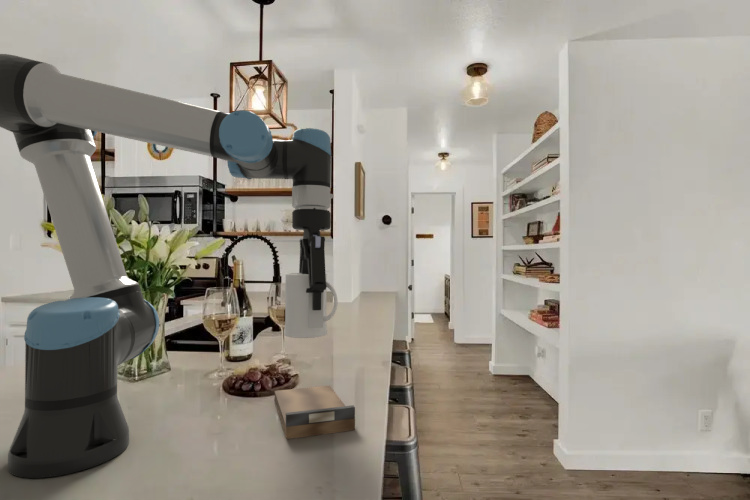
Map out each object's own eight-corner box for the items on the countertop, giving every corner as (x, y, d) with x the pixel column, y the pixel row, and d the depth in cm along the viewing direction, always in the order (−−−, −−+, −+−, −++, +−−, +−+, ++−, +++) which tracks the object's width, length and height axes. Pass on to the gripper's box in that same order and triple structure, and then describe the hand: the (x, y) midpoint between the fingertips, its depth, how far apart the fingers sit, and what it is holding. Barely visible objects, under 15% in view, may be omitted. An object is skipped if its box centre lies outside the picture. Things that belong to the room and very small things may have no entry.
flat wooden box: (286, 439, 71) (286, 415, 71) (274, 400, 90) (274, 381, 90) (355, 430, 75) (355, 407, 75) (329, 394, 94) (330, 376, 94)
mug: (348, 335, 83) (349, 273, 83) (317, 342, 76) (318, 275, 76) (306, 329, 90) (306, 272, 90) (274, 335, 83) (275, 273, 83)
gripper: (343, 204, 75) (343, 332, 74) (319, 215, 95) (319, 315, 95) (301, 202, 72) (300, 334, 72) (285, 213, 93) (285, 316, 93)
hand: (310, 323), depth 83 cm, fingers closed on mug, 9 cm apart
